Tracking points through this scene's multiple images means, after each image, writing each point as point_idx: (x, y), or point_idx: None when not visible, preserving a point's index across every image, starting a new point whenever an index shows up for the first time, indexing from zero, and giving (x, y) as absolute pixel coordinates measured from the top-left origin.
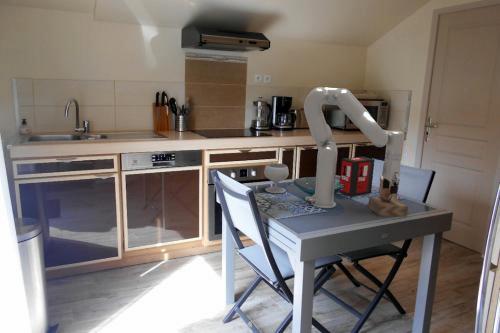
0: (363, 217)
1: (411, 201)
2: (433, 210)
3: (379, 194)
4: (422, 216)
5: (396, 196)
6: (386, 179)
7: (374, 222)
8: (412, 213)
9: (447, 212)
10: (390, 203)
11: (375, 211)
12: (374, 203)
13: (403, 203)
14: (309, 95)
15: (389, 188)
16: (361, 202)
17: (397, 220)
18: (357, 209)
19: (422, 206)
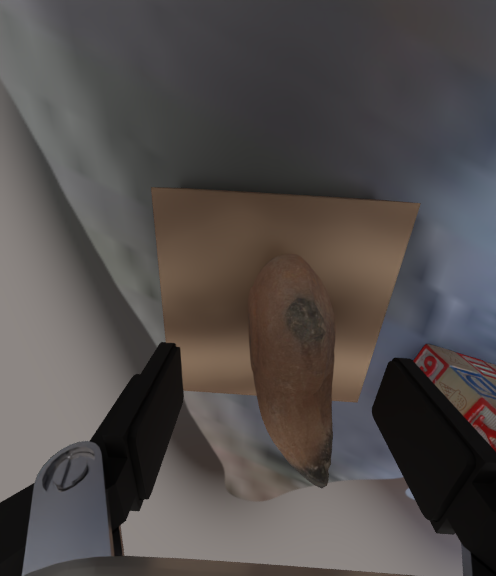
0: (134, 31)
1: (392, 456)
2: (264, 472)
3: (297, 258)
4: (190, 406)
5: None
6: (490, 533)
7: (40, 87)
8: None
9: (240, 497)
10: (226, 309)
11: (239, 191)
12: (277, 194)
13: (226, 389)
14: None
15: (491, 439)
16: (474, 184)
17: (114, 270)
18: (325, 62)
19: None
